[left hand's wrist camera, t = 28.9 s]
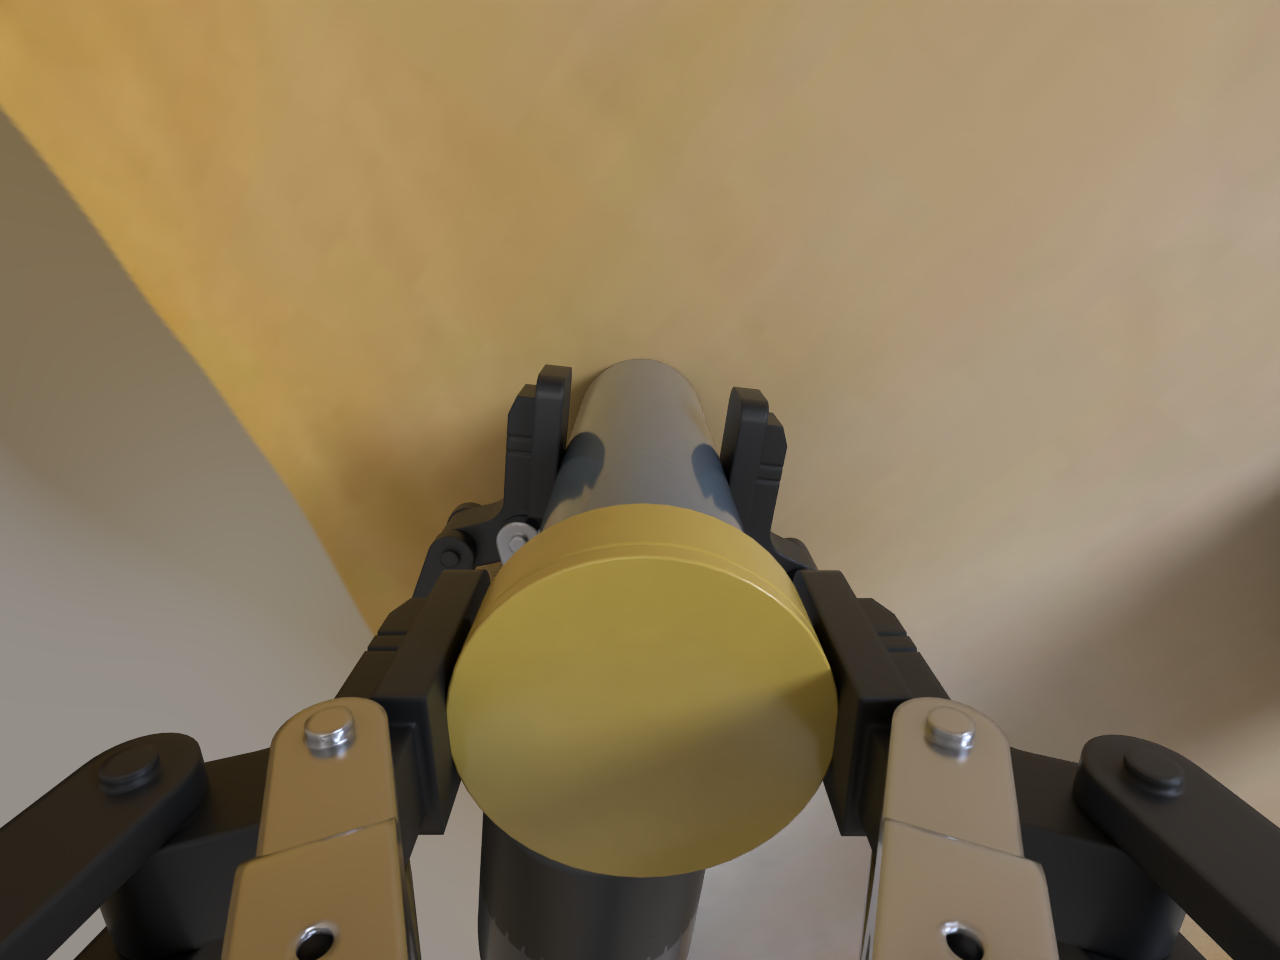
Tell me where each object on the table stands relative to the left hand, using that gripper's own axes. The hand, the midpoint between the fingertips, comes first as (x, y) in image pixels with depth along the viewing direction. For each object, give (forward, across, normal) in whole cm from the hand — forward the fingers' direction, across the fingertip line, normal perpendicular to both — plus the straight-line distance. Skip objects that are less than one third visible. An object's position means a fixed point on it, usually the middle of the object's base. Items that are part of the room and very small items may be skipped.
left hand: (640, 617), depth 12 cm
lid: (-3, 0, 0) cm, 3 cm away
